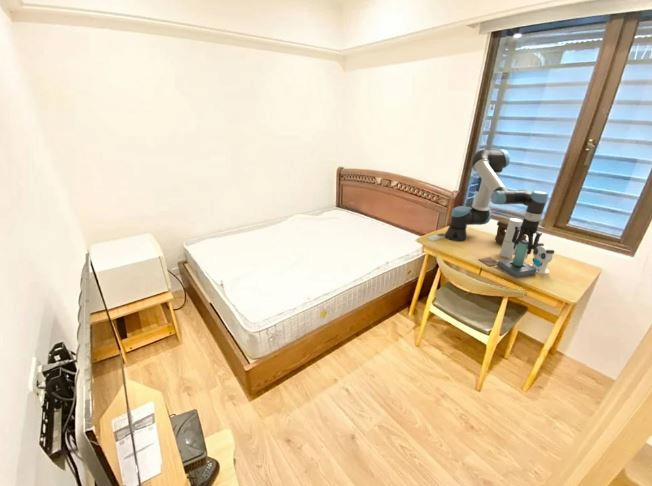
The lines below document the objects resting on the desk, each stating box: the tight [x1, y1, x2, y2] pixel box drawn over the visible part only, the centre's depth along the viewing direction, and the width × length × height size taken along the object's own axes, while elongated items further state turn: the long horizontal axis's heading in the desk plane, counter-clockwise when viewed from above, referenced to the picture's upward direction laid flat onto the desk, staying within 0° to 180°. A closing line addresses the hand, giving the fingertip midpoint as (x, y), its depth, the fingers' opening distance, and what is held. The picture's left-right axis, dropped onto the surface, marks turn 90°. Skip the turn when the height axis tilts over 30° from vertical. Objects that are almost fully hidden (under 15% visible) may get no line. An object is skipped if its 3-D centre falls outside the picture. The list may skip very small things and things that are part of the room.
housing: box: [496, 258, 537, 279], centre depth 176 cm, size 14×14×4 cm
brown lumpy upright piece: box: [494, 218, 528, 250], centre depth 205 cm, size 20×11×17 cm, turn 33°
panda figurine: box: [528, 242, 555, 275], centre depth 175 cm, size 12×11×15 cm
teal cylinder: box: [512, 240, 528, 266], centre depth 172 cm, size 5×5×15 cm
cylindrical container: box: [499, 217, 523, 259], centre depth 190 cm, size 7×7×25 cm
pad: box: [478, 257, 498, 267], centre depth 186 cm, size 9×9×1 cm
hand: (519, 256), depth 173 cm, fingers closed on teal cylinder, 5 cm apart
